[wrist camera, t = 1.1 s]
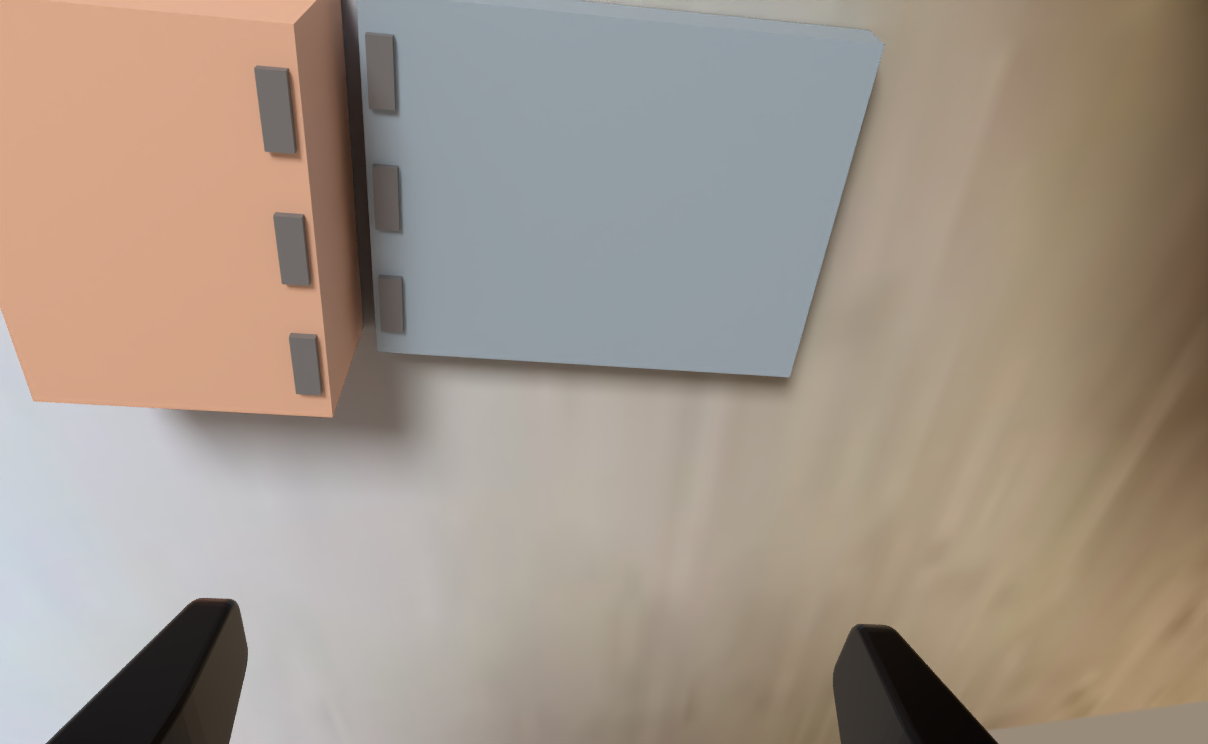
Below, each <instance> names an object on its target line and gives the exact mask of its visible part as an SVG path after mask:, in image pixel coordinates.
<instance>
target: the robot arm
mask: <svg viewBox="0 0 1208 744" xmlns="http://www.w3.org/2000/svg"><path fill="white" fill-rule="evenodd" d="M247 660H248V647H247V642H246V637H245V632H244V627H243V622H242V618H241V613H240V608H239V606H238V604H237V602H236V601H234V600H232V599H218V598H199V599H196V600H194V601H192V602H191V603H190V604H188V605H187V606H186V607H185V608H184V609H183V610H182V611H181V612H180V613H179V614H178V615H177V616H176V617H175V618H174V619H173V620H172V621H171V622H170V623H169V624H168V625H167V626H166V627H165V628H164V629H163V630H162V631H161V632H160V633H159V634H158V635H157V636H155V637H154V638H153V639H152V640H151V641H150V642H149V643H148V644H147V645H146V646H145V647H144V648H143V649H142V650H141V651H140V652H139V653H138V654H137V655H136V656H135V657H134V658H133V659H132V660H131V661H130V662H129V663H128V664H127V665H126V666H125V667H124V668H123V669H122V670H121V671H120V672H119V673H118V674H117V675H116V676H115V677H114V678H112V679H111V680H110V681H109V682H108V683H107V684H106V685H105V686H104V687H103V688H102V689H101V690H100V691H99V692H98V693H97V694H96V695H95V696H94V697H93V698H92V699H91V700H90V701H89V702H88V703H87V704H86V705H85V706H84V707H83V708H82V709H81V710H80V711H79V712H78V713H77V714H76V715H75V716H74V717H73V718H72V719H71V720H69V721H68V722H67V723H66V724H65V725H64V726H63V727H62V728H61V729H60V730H59V731H58V732H57V733H56V734H55V735H54V736H53V737H52V738H51V739H50V740H49V741H48V742H47V743H46V744H229V741H230V737H231V733H232V728H233V724H234V720H235V715H236V711H237V707H238V702H239V698H240V694H241V689H242V685H243V681H244V676H245V672H246V667H247ZM833 690H834V697H835V704H836V711H837V718H838V725H839V732H840V739H841V744H998V743H997V742H996V741H995V739H994V738H993V737H992V736H991V735H990V734H989V733H988V732H987V731H986V729H985V728H984V727H983V726H982V725H981V724H980V723H979V722H978V721H977V719H976V718H975V717H974V716H973V715H972V714H971V713H970V712H969V711H968V710H967V708H966V707H965V706H964V705H963V704H962V703H961V702H960V701H959V700H958V698H957V697H956V696H955V695H954V694H953V693H952V692H951V691H950V690H949V688H948V687H947V686H946V685H945V684H944V683H943V682H942V681H941V680H940V679H939V677H938V676H937V675H936V674H935V673H934V672H933V671H932V670H931V669H930V667H929V666H928V665H927V664H926V663H925V662H924V661H923V660H922V659H921V658H920V656H919V655H918V654H917V653H916V652H915V651H914V650H913V649H912V648H911V646H910V645H909V644H908V643H907V642H906V641H905V640H904V639H903V638H902V636H901V635H900V634H899V633H898V632H897V631H896V630H894V629H893V628H892V627H890V626H887V625H875V624H857V625H856V626H854V627H853V628H852V629H851V631H850V633H849V635H848V637H847V639H846V642H845V644H844V646H843V649H842V651H841V653H840V655H839V658H838V660H837V662H836V665H835V668H834V672H833Z"/></svg>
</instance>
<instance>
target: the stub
mask: <svg viewBox="0 0 1208 744" xmlns="http://www.w3.org/2000/svg"><path fill="white" fill-rule="evenodd" d="M0 308H1V311H2V314H3V316H4V319H5V322H6V325H7V328H8V330H9V333H10V336H11V339H12V342H13V345H14V347H15V350H16V353H17V356H18V359H19V362H20V364H21V367H22V370H23V373H24V376H25V379H26V381H27V384H28V387H29V390H30V393H31V396H32V398H33V401H37V402H56V403H74V404H93V405H111V406H130V407H148V408H167V409H185V410H204V411H222V412H241V413H259V414H278V415H296V416H314V417H333V415H334V412H335V409H336V406H337V403H338V401H339V398H340V395H341V392H342V389H343V386H344V383H345V380H346V377H347V374H348V371H349V368H350V365H351V362H352V359H353V356H354V353H355V350H356V347H357V344H358V341H359V338H360V335H361V332H362V329H363V318H362V303H361V289H360V274H359V260H358V245H357V230H356V216H355V201H354V186H353V172H352V157H351V142H350V128H349V113H348V99H347V84H346V69H345V55H344V40H343V25H342V11H341V0H0Z"/></svg>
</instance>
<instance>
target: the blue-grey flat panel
mask: <svg viewBox="0 0 1208 744" xmlns="http://www.w3.org/2000/svg"><path fill="white" fill-rule="evenodd" d="M356 1H357V18H358V35H359V53H360V70H361V87H362V104H363V121H364V138H365V155H366V172H367V190H368V207H369V224H370V241H371V258H372V275H373V292H374V310H375V327H376V344H377V352H386V353H402V354H418V355H435V356H451V357H467V358H484V359H500V360H516V361H532V362H549V363H565V364H581V365H597V366H614V367H630V368H646V369H663V370H679V371H695V372H711V373H728V374H744V375H760V376H776V377H790V375H791V371H792V368H793V364H794V361H795V357H796V354H797V350H798V347H799V343H800V340H801V336H802V332H803V329H804V325H805V322H806V318H807V315H808V311H809V308H810V304H811V301H812V297H813V294H814V290H815V287H816V283H817V280H818V276H819V273H820V269H821V266H822V262H823V259H824V255H825V252H826V248H827V245H828V241H829V238H830V234H831V231H832V227H833V224H834V220H835V217H836V213H837V210H838V206H839V203H840V199H841V196H842V192H843V189H844V185H845V182H846V178H847V175H848V171H849V168H850V164H851V161H852V157H853V154H854V150H855V147H856V143H857V140H858V136H859V133H860V129H861V126H862V122H863V119H864V115H865V112H866V108H867V105H868V101H869V98H870V94H871V91H872V87H873V84H874V80H875V77H876V73H877V70H878V66H879V63H880V59H881V56H882V52H883V49H884V45H885V44H884V43H883V42H882V41H881V40H880V39H879V38H878V37H876V36H875V35H874V34H873V33H872V32H871V31H870V30H862V29H852V28H842V27H832V26H823V25H813V24H803V23H793V22H783V21H773V20H763V19H754V18H744V17H734V16H724V15H714V14H704V13H695V12H685V11H675V10H665V9H655V8H645V7H636V6H626V5H616V4H606V3H596V2H586V1H577V0H356Z"/></svg>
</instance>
